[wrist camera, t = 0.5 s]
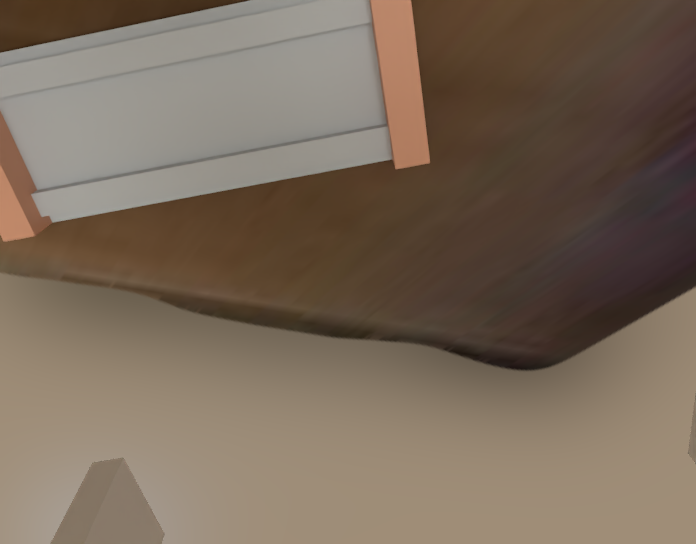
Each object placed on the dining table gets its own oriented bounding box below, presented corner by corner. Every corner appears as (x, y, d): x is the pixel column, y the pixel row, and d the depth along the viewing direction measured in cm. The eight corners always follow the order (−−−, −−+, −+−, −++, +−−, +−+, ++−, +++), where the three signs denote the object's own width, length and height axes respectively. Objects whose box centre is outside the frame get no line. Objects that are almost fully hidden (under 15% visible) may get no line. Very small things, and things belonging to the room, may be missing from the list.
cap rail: (32, 221, 36) (3, 241, 33) (-44, 62, 31) (-86, 69, 28) (421, 148, 34) (430, 162, 31) (399, -31, 30) (407, -34, 26)
